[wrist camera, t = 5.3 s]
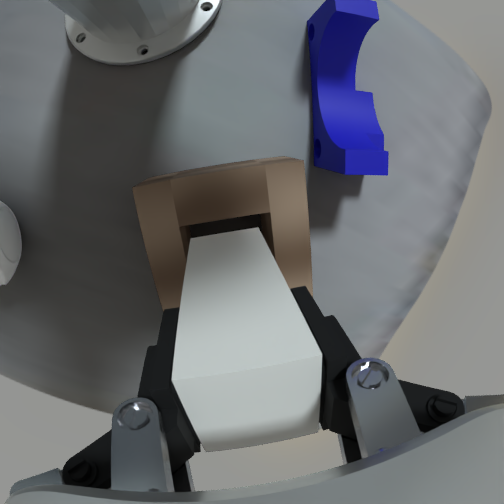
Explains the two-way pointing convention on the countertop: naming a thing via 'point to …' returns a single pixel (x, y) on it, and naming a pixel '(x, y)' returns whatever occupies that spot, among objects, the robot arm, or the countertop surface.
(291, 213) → the socket block
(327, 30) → the blue curved block
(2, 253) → the white round lump
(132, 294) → the countertop surface
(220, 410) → the peg
